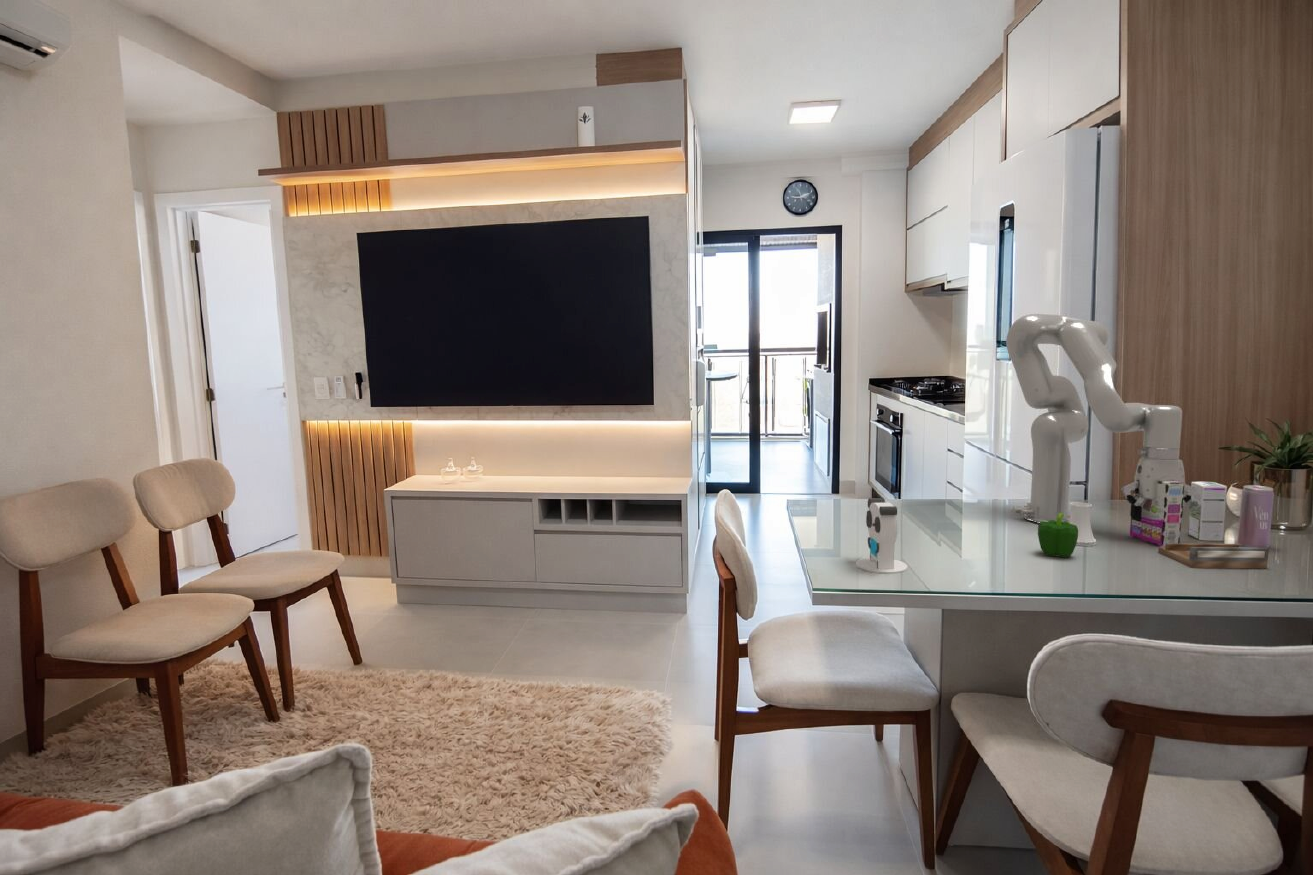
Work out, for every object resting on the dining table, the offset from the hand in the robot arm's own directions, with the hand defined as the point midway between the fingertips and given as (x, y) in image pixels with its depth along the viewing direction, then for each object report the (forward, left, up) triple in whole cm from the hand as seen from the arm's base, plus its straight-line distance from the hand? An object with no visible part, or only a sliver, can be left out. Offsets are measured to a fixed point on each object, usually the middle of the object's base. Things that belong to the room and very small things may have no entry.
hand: (1155, 520), depth 179 cm
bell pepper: (-30, -13, -6) cm, 33 cm away
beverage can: (+21, -4, -6) cm, 22 cm away
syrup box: (+15, +4, -6) cm, 17 cm away
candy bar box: (0, 0, -6) cm, 6 cm away
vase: (-19, -1, -6) cm, 20 cm away
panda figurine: (-74, -23, -6) cm, 78 cm away
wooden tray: (+3, -16, -6) cm, 17 cm away
